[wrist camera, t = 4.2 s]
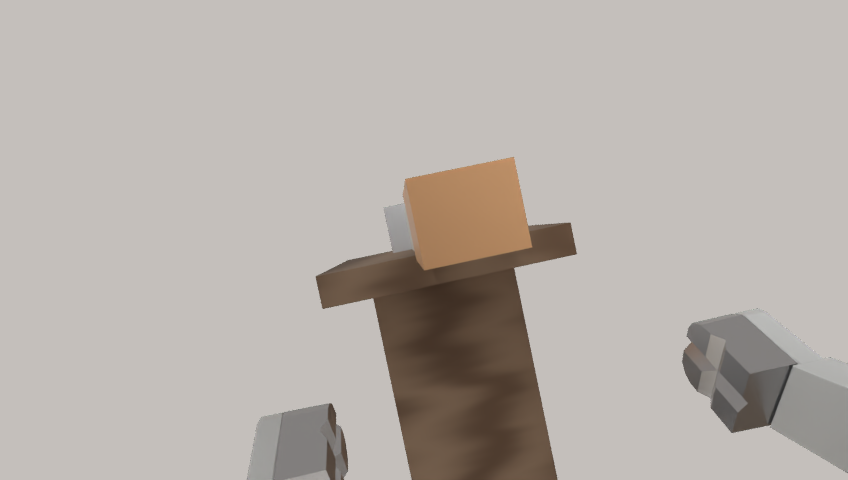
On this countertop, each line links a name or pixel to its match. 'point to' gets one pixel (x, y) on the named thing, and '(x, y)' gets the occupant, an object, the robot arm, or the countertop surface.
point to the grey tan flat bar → (460, 215)
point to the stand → (459, 357)
